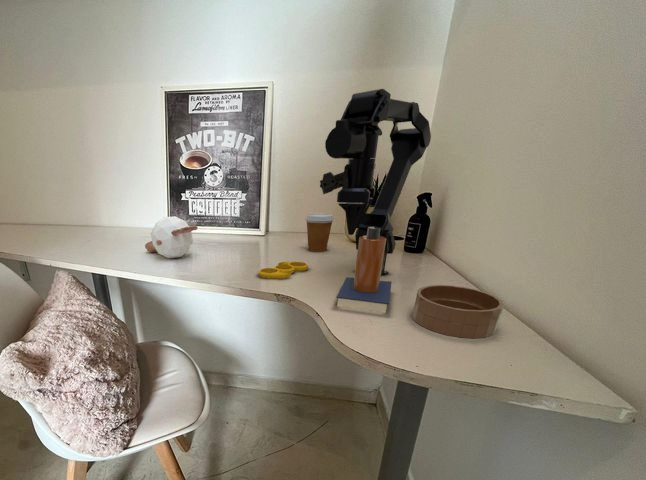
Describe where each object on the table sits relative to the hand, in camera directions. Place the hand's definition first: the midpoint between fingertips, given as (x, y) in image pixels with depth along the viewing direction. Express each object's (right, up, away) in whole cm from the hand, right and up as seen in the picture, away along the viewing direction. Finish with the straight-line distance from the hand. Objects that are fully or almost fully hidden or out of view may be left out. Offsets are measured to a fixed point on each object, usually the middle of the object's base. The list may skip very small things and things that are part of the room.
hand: (353, 231), depth 79 cm
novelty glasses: (-15, -8, +15) cm, 23 cm away
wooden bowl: (+12, -22, -17) cm, 30 cm away
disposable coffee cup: (0, +3, +40) cm, 40 cm away
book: (0, -17, -6) cm, 18 cm away
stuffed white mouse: (-51, 0, +34) cm, 61 cm away
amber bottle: (0, -14, -7) cm, 16 cm away
